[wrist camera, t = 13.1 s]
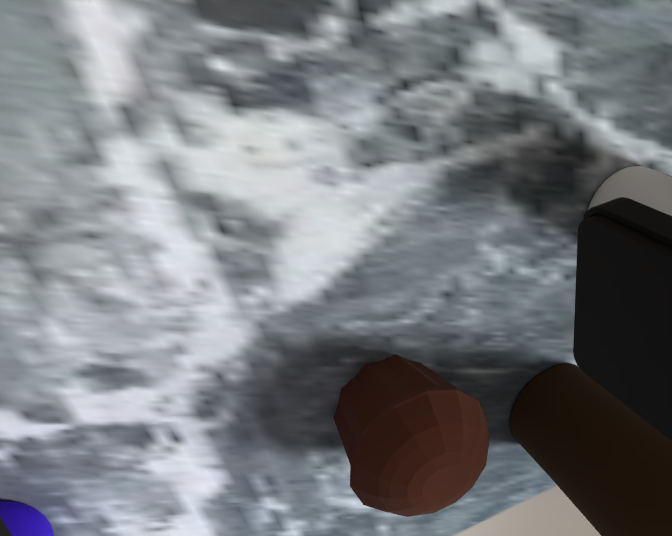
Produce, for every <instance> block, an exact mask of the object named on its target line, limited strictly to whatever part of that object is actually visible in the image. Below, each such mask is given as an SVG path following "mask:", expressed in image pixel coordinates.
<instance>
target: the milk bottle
mask: <svg viewBox="0 0 672 536" xmlns="http://www.w3.org/2000/svg"><path fill="white" fill-rule="evenodd" d="M620 197H625V198H630V199H632V200H634V201H637V202H639V203H642V204H644V205H646V206H649V207H651V208H654V209H656V210H658V211H661V212H663V213H666V214H668V215H670V216H672V176H670V175H667V174H664V173H661V172H658V171H656V170H653V169H649V168H646V167H642V166H633V167H627V168H624V169H621V170H619V171H617V172H616V173H614V174H612V175H611V176H610V177H609V178H608V179H606V180H605V181H604V183H603V184H602V185H601V186H600V187H599V189H598V190H597V192H596V193H595V194H594V196H593V198H592V200H591V202H590V205H589V208H588V210H589V209H590V208H592V207H594V206H597V205H600V204H603V203H605V202H608V201H611V200H613V199H616V198H620Z"/></svg>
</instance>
